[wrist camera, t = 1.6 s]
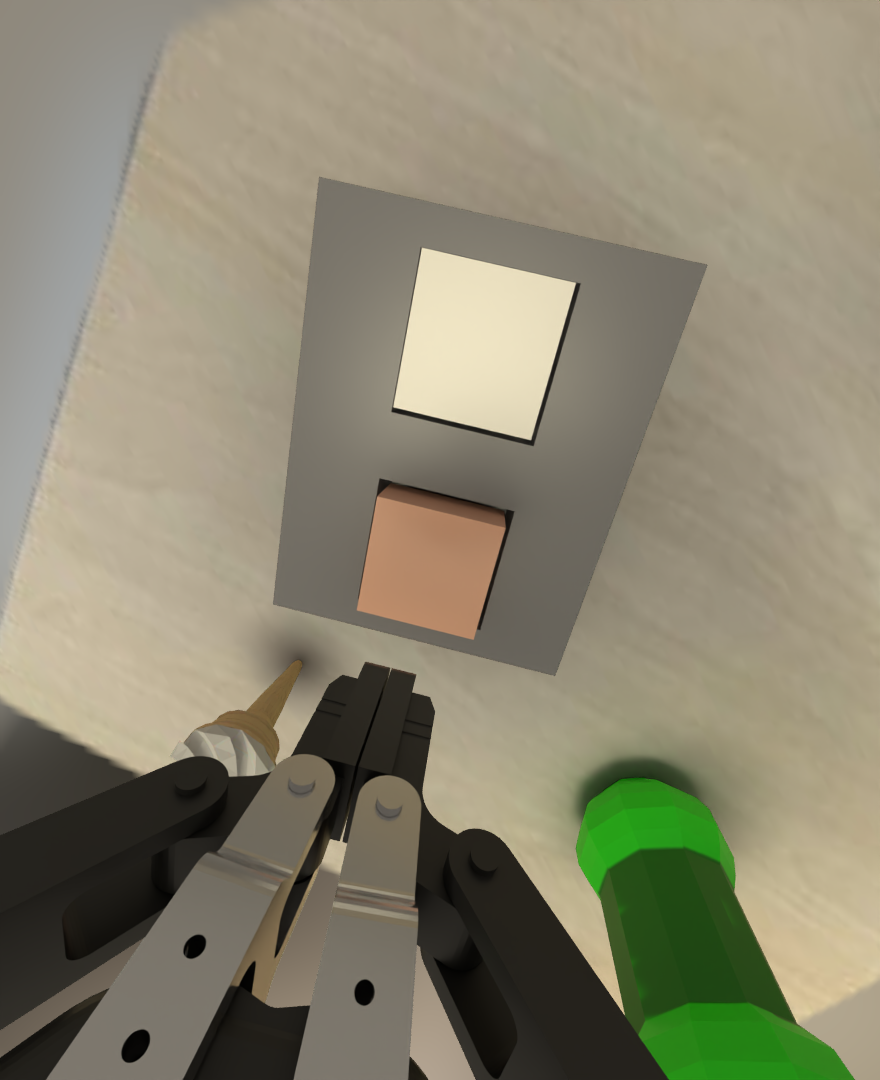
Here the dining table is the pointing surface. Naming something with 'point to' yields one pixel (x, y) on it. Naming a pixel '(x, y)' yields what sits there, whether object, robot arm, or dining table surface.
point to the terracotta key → (430, 560)
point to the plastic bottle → (689, 942)
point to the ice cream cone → (244, 732)
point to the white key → (481, 343)
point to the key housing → (461, 450)
